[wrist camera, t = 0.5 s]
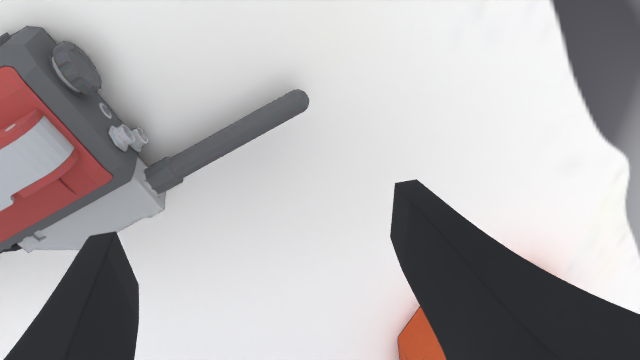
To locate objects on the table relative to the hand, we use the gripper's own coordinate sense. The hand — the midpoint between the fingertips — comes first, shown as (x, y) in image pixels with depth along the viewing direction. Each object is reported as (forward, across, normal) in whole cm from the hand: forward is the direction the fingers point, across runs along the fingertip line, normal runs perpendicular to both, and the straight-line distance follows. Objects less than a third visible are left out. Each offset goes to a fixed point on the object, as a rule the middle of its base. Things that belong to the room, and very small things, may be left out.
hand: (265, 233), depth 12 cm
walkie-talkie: (+10, +8, +2) cm, 13 cm away
